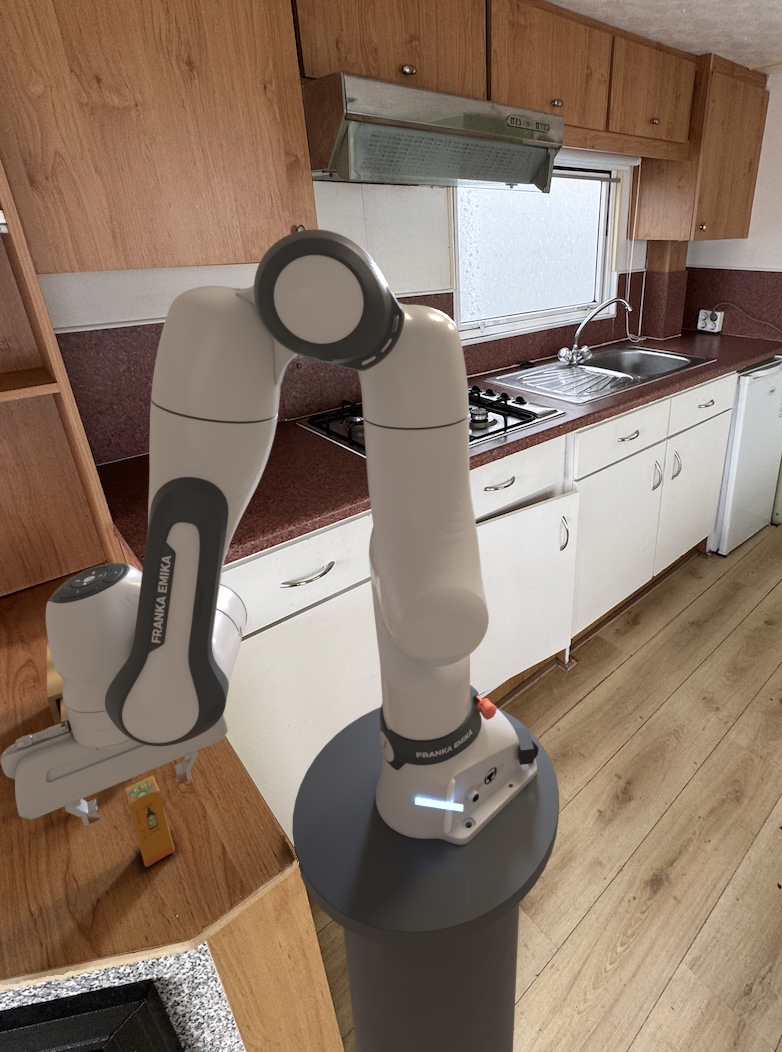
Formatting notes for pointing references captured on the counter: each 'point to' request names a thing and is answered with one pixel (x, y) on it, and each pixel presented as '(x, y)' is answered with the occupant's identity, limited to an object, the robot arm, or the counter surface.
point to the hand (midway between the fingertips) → (139, 798)
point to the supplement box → (149, 820)
